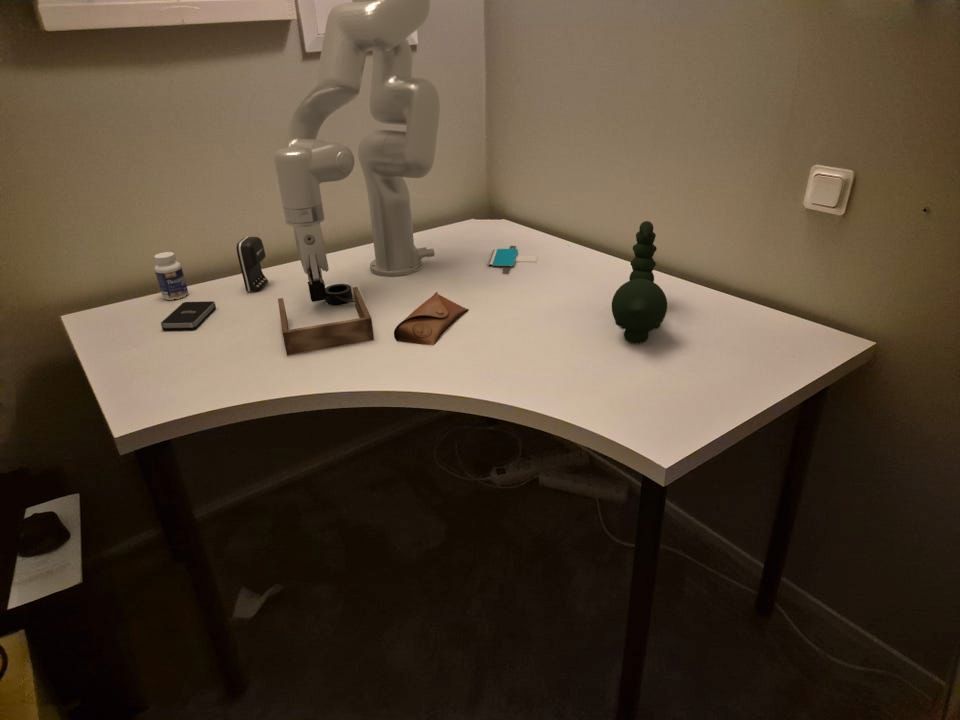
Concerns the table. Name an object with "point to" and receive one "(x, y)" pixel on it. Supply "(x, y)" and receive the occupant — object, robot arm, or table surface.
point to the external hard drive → (188, 316)
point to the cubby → (328, 330)
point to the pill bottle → (170, 276)
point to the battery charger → (251, 262)
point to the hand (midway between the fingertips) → (318, 299)
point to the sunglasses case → (429, 321)
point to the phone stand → (508, 258)
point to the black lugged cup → (339, 294)
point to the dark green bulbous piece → (640, 292)
